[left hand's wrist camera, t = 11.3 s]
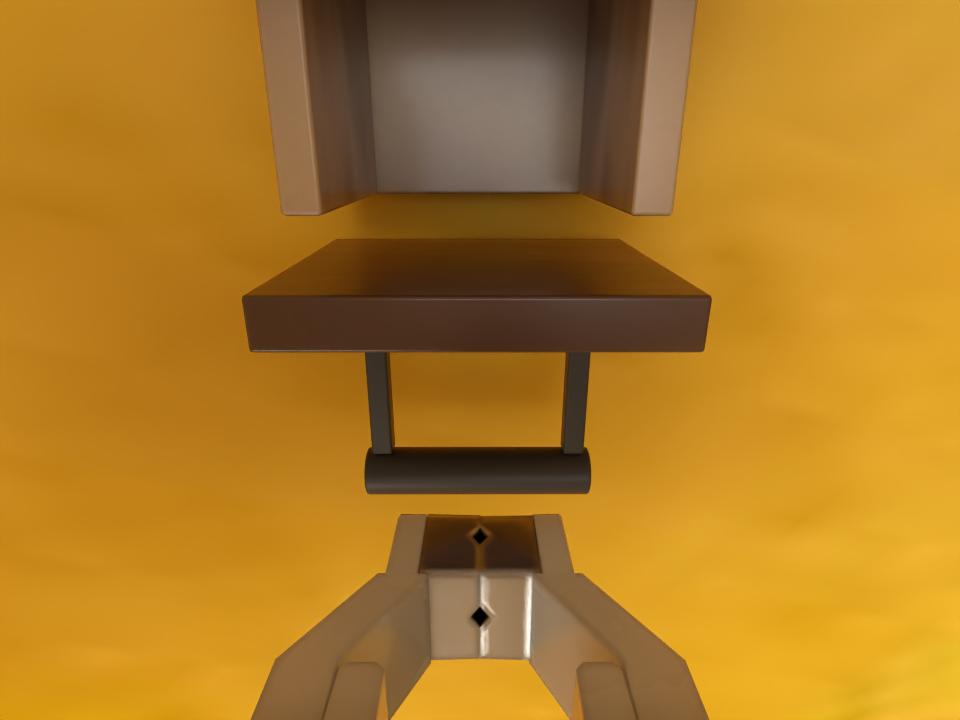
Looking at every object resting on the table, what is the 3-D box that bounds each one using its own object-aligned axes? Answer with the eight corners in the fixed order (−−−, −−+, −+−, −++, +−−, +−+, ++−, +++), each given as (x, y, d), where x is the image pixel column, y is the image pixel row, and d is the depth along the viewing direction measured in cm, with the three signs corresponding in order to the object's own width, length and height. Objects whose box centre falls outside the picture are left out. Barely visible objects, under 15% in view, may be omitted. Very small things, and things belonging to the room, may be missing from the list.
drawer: (603, 433, 21) (670, 585, 13) (352, 434, 21) (284, 585, 13) (660, -222, 14) (849, -612, 7) (293, -223, 14) (100, -614, 7)
